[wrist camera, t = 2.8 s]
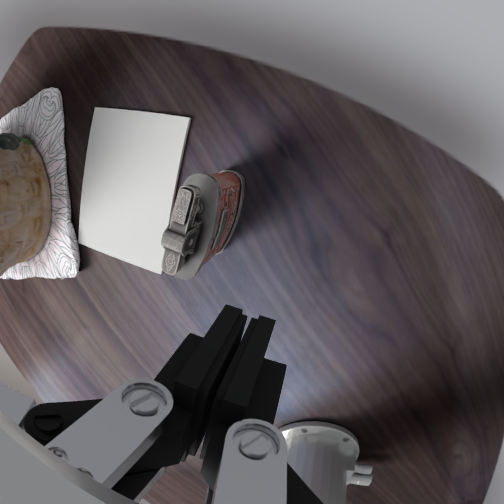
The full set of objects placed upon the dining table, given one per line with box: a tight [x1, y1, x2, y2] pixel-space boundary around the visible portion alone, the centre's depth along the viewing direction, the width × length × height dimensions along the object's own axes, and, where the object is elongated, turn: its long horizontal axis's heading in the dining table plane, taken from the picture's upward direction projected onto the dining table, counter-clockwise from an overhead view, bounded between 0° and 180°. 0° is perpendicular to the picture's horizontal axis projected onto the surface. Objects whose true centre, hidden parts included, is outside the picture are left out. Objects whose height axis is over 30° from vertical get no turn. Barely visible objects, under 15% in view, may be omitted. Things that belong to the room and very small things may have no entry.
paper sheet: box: [78, 107, 191, 274], centre depth 30 cm, size 12×16×1 cm
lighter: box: [161, 170, 245, 280], centre depth 24 cm, size 8×3×10 cm, turn 162°
